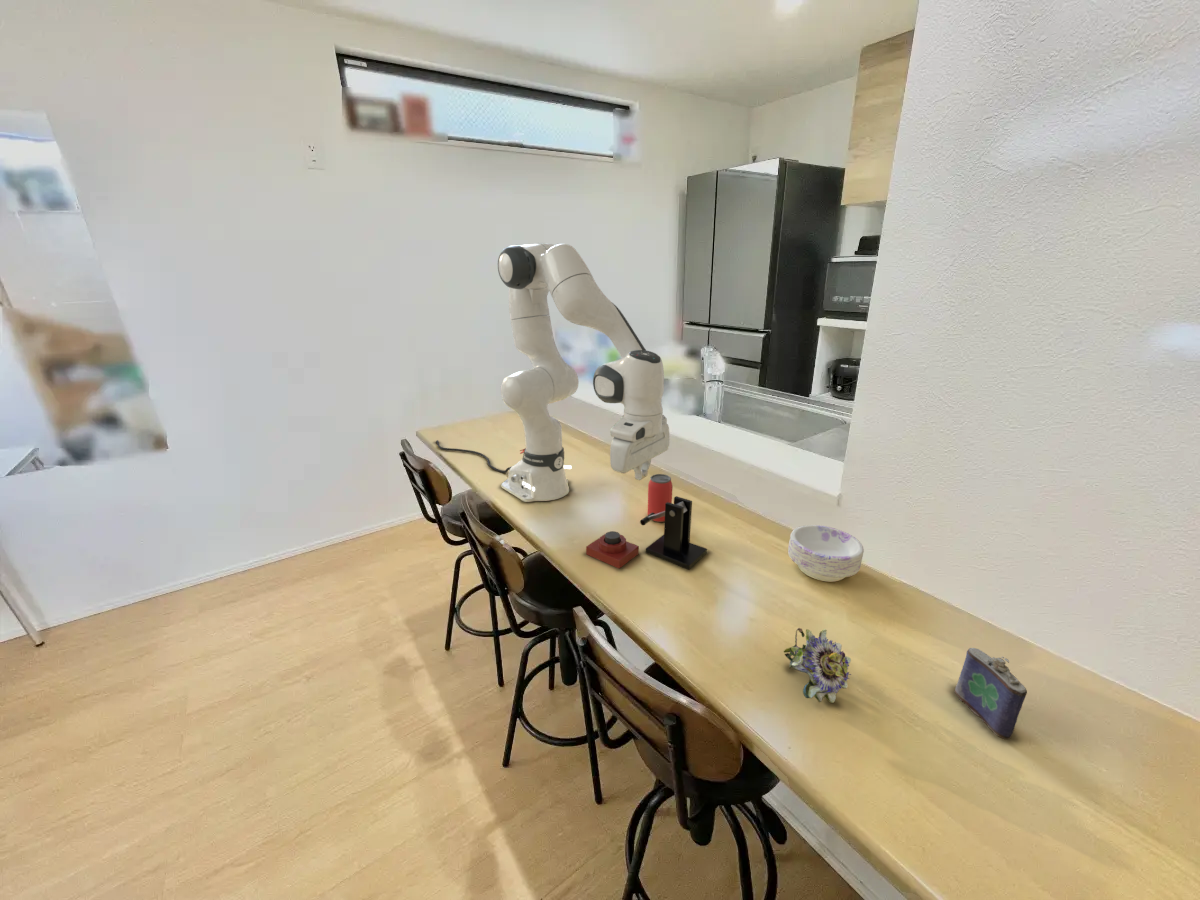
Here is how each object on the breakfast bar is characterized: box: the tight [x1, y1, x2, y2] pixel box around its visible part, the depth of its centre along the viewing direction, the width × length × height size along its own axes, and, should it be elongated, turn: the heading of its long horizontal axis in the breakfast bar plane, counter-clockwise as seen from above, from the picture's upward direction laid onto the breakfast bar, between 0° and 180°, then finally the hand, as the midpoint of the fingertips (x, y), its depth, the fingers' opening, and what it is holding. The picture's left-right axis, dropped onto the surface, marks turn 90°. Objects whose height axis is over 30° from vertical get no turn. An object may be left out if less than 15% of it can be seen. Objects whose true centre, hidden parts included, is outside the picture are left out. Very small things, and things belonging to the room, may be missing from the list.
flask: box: [954, 647, 1028, 740], centre depth 75 cm, size 9×3×11 cm, turn 8°
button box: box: [585, 533, 640, 569], centre depth 119 cm, size 10×8×4 cm
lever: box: [639, 502, 687, 526], centre depth 119 cm, size 12×5×2 cm
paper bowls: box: [787, 524, 865, 583], centre depth 112 cm, size 15×15×8 cm
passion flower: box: [783, 627, 852, 704], centre depth 82 cm, size 11×11×12 cm
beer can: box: [647, 473, 674, 523], centre depth 135 cm, size 7×7×12 cm
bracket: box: [645, 496, 708, 570], centre depth 118 cm, size 12×9×14 cm
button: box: [604, 530, 621, 545], centre depth 119 cm, size 4×4×2 cm
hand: (641, 477), depth 118 cm, fingers closed
